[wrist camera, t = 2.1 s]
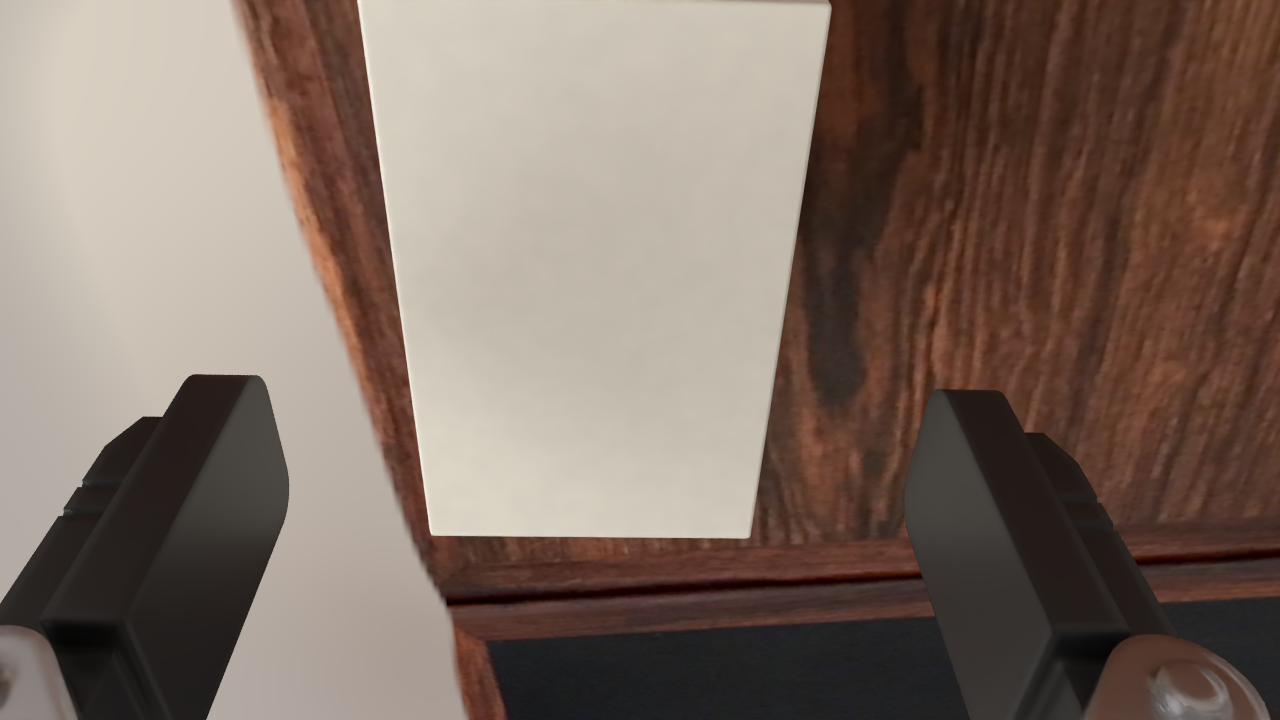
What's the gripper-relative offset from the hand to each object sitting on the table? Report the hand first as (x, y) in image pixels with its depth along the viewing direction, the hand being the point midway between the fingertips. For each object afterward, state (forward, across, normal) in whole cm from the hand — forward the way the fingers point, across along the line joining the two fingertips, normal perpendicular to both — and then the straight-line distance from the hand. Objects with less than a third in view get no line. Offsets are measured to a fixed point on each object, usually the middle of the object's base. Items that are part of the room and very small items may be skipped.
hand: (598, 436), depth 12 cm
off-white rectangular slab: (+4, 0, 0) cm, 4 cm away
